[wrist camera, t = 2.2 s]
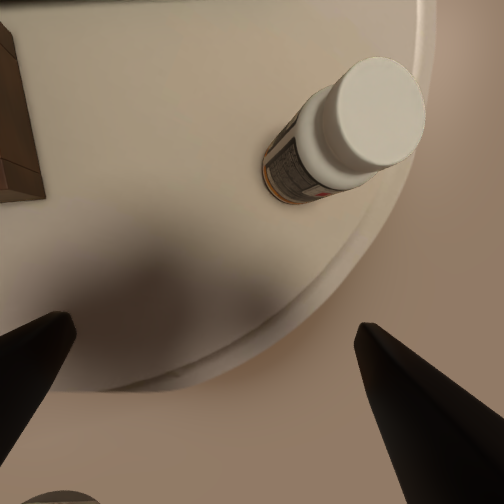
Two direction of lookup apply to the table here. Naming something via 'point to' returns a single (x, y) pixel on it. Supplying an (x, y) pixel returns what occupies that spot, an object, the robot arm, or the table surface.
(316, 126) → the white rounded container
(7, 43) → the holder
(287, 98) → the table surface
